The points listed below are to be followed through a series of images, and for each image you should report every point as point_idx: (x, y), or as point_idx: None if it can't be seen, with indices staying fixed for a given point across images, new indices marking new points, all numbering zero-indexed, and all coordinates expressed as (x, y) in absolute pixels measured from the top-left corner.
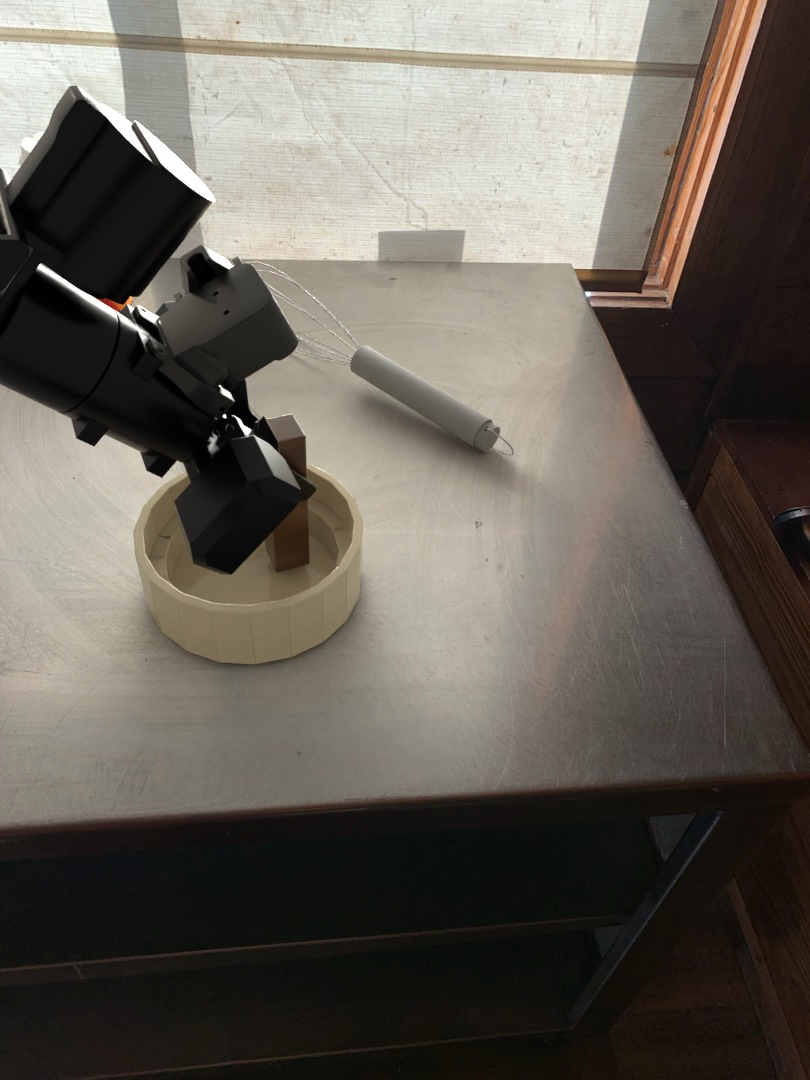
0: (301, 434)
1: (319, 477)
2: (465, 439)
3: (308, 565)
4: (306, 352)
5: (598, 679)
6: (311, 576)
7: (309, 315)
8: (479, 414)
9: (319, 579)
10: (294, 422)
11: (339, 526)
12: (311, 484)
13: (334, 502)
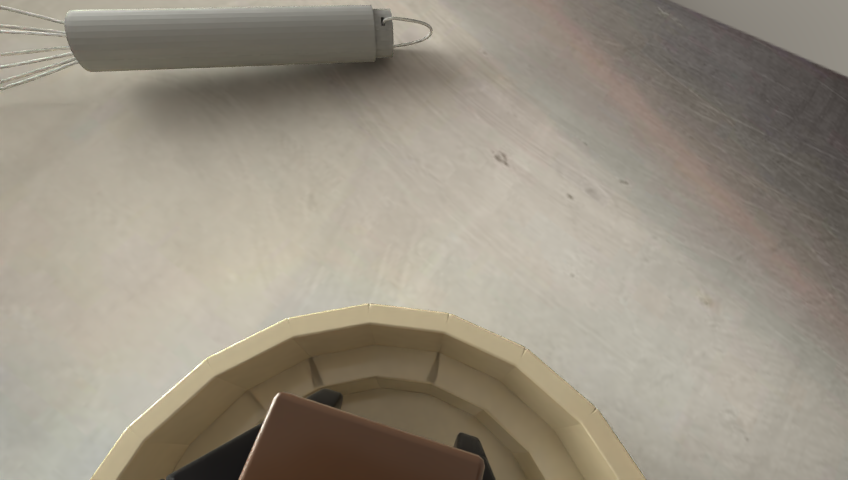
0: (465, 474)
1: (332, 332)
2: (360, 57)
3: None
4: None
5: (833, 234)
6: None
7: None
8: (353, 7)
9: None
10: (348, 435)
11: (429, 363)
12: (489, 464)
13: (388, 338)
